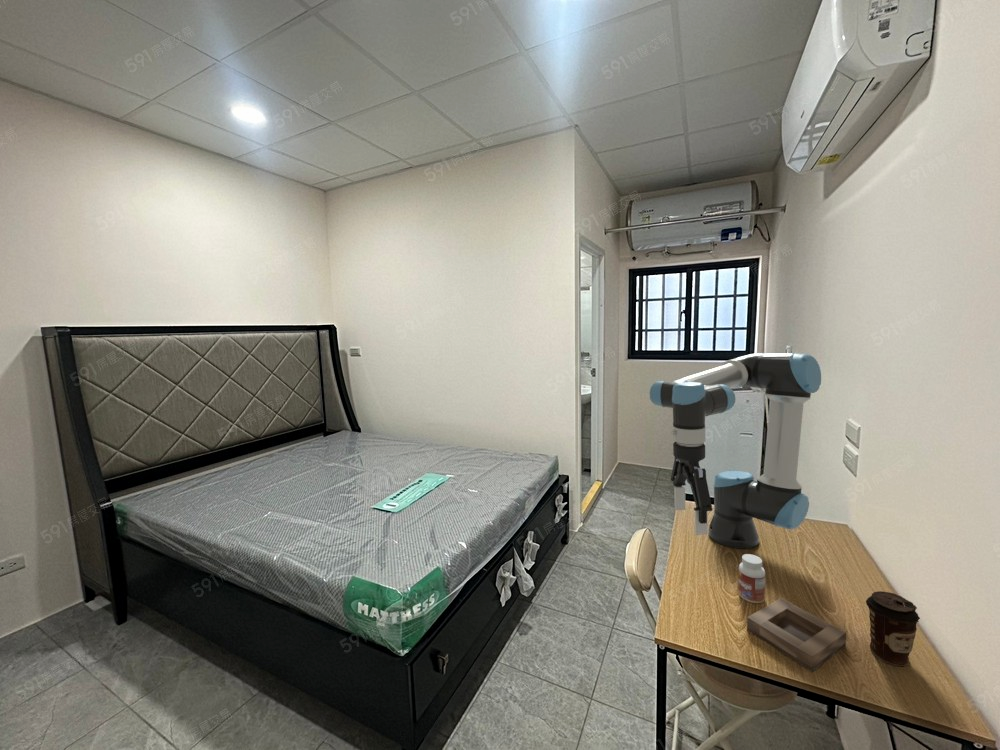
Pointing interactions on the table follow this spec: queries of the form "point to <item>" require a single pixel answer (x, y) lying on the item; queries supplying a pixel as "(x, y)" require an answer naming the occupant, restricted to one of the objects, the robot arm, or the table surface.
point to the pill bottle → (751, 579)
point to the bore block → (797, 633)
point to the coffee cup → (892, 627)
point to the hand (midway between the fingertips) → (689, 521)
